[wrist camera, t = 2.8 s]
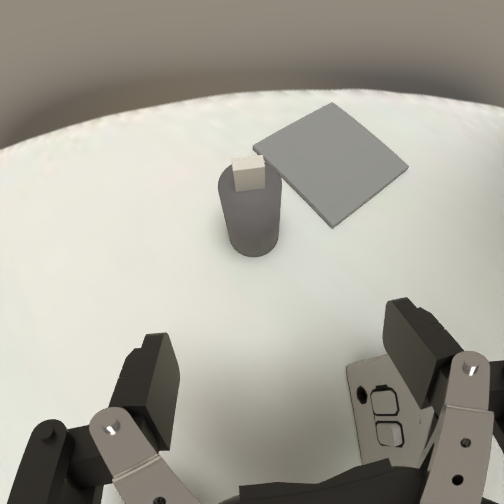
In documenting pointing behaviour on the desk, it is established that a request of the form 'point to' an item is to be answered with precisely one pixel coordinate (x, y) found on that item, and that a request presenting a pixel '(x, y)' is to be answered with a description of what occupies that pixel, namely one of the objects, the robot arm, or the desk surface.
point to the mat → (331, 162)
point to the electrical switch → (386, 413)
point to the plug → (251, 204)
